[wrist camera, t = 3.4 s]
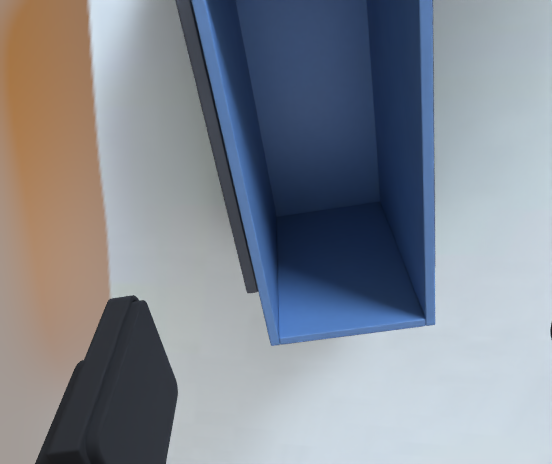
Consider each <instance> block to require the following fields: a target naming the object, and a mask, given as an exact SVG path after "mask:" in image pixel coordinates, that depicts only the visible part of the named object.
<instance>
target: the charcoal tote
mask: <svg viewBox="0 0 552 464" xmlns="http://www.w3.org/2000/svg"><path fill="white" fill-rule="evenodd" d="M175 1H176V5H177V9H178V13H179V17H180V21H181V25H182V29H183V33H184V37H185V41H186V45H187V50H188V54H189V58H190V62H191V66H192V70H193V74H194V78H195V82H196V86H197V90H198V94H199V99H200V103H201V107H202V111H203V115H204V119H205V123H206V127H207V131H208V135H209V139H210V143H211V148H212V152H213V156H214V160H215V164H216V168H217V172H218V176H219V180H220V184H221V188H222V192H223V197H224V201H225V205H226V209H227V213H228V217H229V221H230V225H231V229H232V233H233V237H234V241H235V246H236V250H237V254H238V258H239V262H240V266H241V270H242V274H243V278H244V282H245V286H246V290H247V293H255V292H259V291H258V287H257V283H256V278H255V274H254V270H253V265H252V261H251V257H250V252H249V248H248V244H247V239H246V235H245V230H244V226H243V222H242V217H241V213H240V209H239V204H238V200H237V196H236V191H235V187H234V183H233V178H232V174H231V170H230V165H229V161H228V157H227V152H226V148H225V144H224V139H223V135H222V131H221V126H220V122H219V118H218V113H217V109H216V105H215V100H214V96H213V91H212V87H211V83H210V78H209V74H208V70H207V65H206V61H205V57H204V52H203V48H202V44H201V39H200V35H199V31H198V26H197V22H196V18H195V13H194V9H193V5H192V0H175ZM432 25H433V0H432ZM433 133H434V61H433ZM434 242H435V178H434Z"/></svg>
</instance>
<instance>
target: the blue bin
mask: <svg viewBox="0 0 552 464" xmlns="http://www.w3.org/2000/svg"><path fill="white" fill-rule="evenodd" d="M192 5H193V9H194V13H195V18H196V22H197V26H198V31H199V35H200V39H201V44H202V48H203V52H204V57H205V61H206V65H207V70H208V74H209V78H210V83H211V87H212V91H213V96H214V100H215V105H216V109H217V113H218V118H219V122H220V126H221V131H222V135H223V139H224V144H225V148H226V152H227V157H228V161H229V165H230V170H231V174H232V178H233V183H234V187H235V191H236V196H237V200H238V204H239V209H240V213H241V217H242V222H243V226H244V230H245V235H246V239H247V244H248V248H249V252H250V257H251V261H252V265H253V270H254V274H255V278H256V283H257V287H258V291H259V296H260V300H261V304H262V309H263V313H264V317H265V322H266V326H267V330H268V335H269V339H270V343H271V346H274V345H280V344H281V345H282V344H289V343H297V342H305V341H313V340H321V339H328V338H336V337H344V336H352V335H359V334H367V333H375V332H383V331H390V330H398V329H406V328H414V327H422V326H425V325H426V326H429V325H435V242H434V133H433V25H432V0H192Z"/></svg>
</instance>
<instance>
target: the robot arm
mask: <svg viewBox="0 0 552 464" xmlns="http://www.w3.org/2000/svg"><path fill="white" fill-rule="evenodd" d="M551 338H552V324H551ZM177 396H178V388H177V382H176V379H175V376H174V374H173V371H172V368H171V366H170V363H169V360H168V358H167V355H166V352H165V350H164V347H163V345H162V342H161V339H160V337H159V334H158V331H157V329H156V326H155V324H154V321H153V318H152V316H151V313H150V310H149V308H148V305H147V303H146V302H145V301H144V300H142V301H139V300H138V298H137V297H136V296H134V295H133V296H126V297H119V298H112V299H110V300H109V301H108V302H107V305H106V307H105V309H104V312H103V314H102V317H101V319H100V322H99V324H98V327H97V330H96V332H95V334H94V337H93V339H92V342H91V344H90V347H89V349H88V352H87V354H86V357H85V359H84V360H82V361H80V362H79V363H78V364H77V366H76V368H75V369H74V372H73V374H72V376H71V379H70V381H69V383H68V386H67V388H66V391H65V393H64V395H63V398H62V401H61V403H60V405H59V408H58V410H57V412H56V415H55V417H54V420H53V422H52V424H51V427H50V429H49V432H48V434H47V436H46V439H45V441H44V444H43V446H42V448H41V451H40V453H39V456H38V458H37V460H36V463H35V464H166V459H167V453H168V447H169V442H170V436H171V431H172V425H173V419H174V414H175V408H176V403H177Z"/></svg>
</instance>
